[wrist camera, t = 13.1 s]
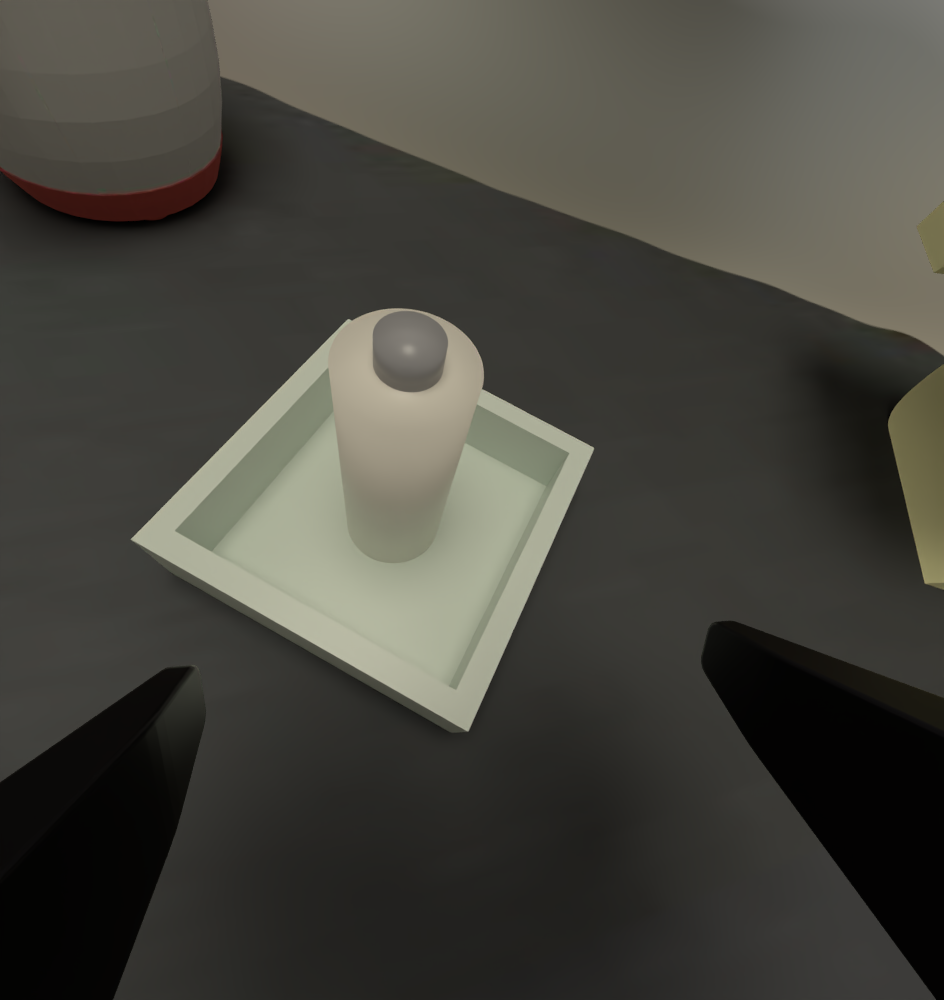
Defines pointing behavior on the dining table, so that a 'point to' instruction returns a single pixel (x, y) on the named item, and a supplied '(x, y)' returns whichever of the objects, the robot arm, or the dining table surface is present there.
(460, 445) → the grey-capped cream cylinder
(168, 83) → the citrus juicer
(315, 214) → the dining table surface
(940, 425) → the slatted curved stool
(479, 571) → the walled box
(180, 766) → the robot arm
